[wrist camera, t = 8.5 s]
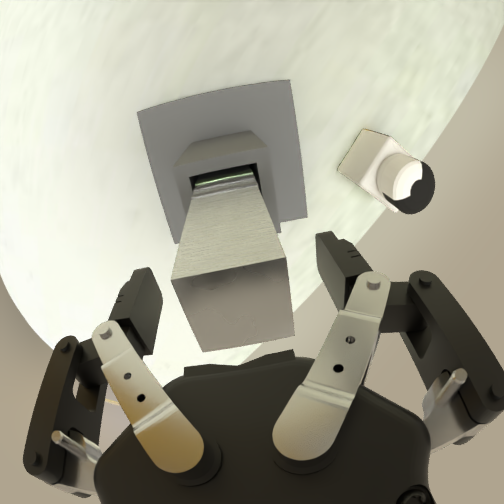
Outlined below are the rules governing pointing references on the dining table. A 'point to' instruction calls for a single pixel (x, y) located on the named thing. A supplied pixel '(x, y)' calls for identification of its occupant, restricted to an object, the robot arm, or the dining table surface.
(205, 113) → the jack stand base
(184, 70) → the dining table surface
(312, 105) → the dining table surface
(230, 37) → the dining table surface
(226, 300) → the steel column
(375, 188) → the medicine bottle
